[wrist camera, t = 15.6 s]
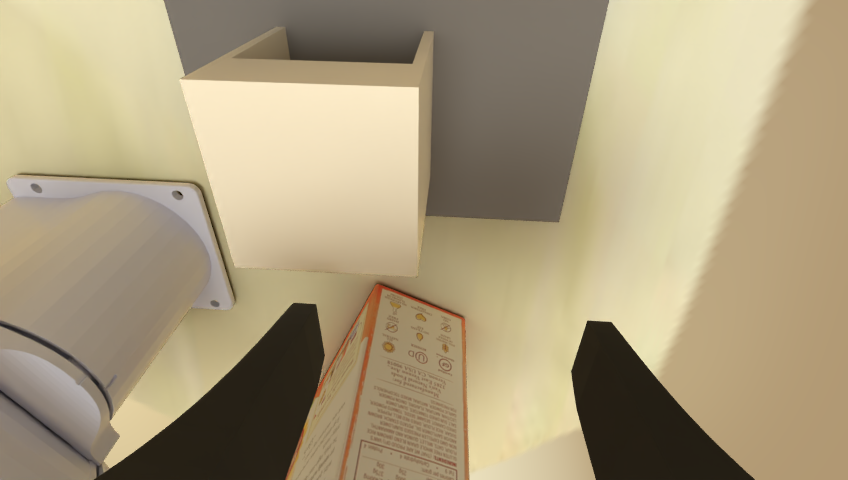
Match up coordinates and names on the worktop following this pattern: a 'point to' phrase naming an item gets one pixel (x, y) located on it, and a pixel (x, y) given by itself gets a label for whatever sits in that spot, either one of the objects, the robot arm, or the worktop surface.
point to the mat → (446, 81)
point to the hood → (316, 157)
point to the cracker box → (391, 398)
